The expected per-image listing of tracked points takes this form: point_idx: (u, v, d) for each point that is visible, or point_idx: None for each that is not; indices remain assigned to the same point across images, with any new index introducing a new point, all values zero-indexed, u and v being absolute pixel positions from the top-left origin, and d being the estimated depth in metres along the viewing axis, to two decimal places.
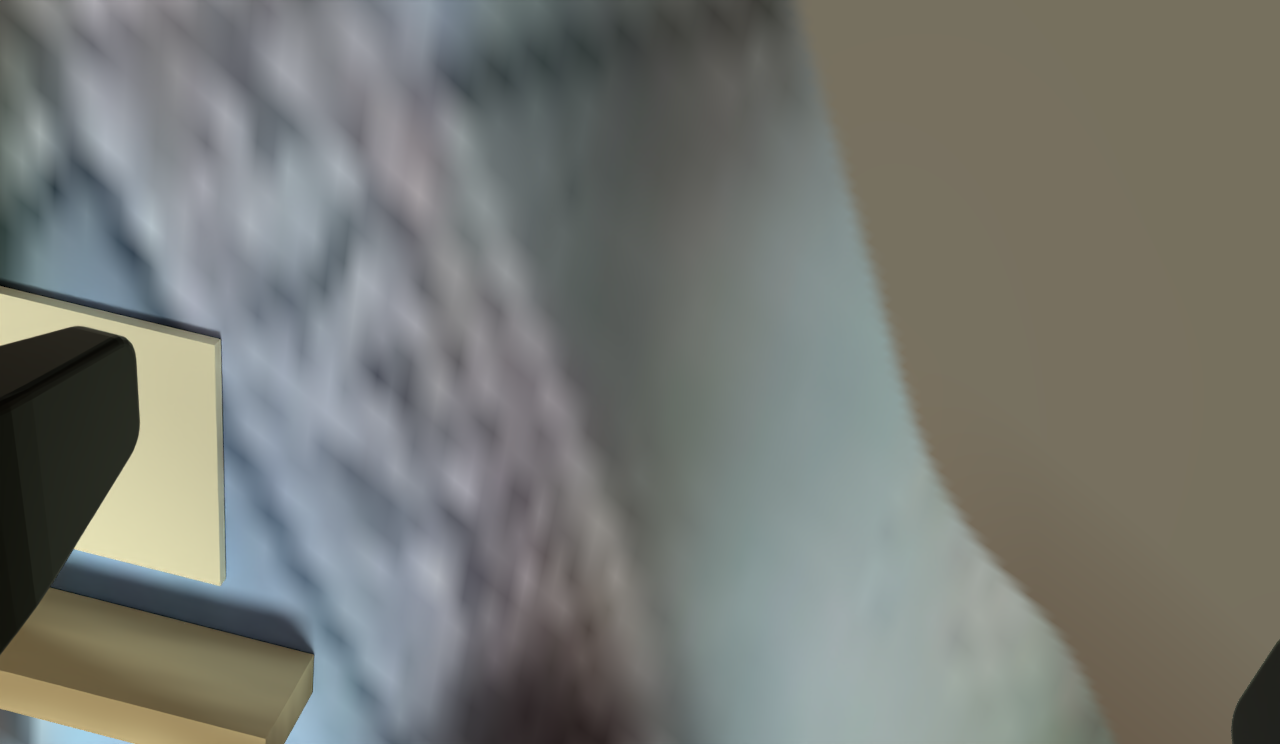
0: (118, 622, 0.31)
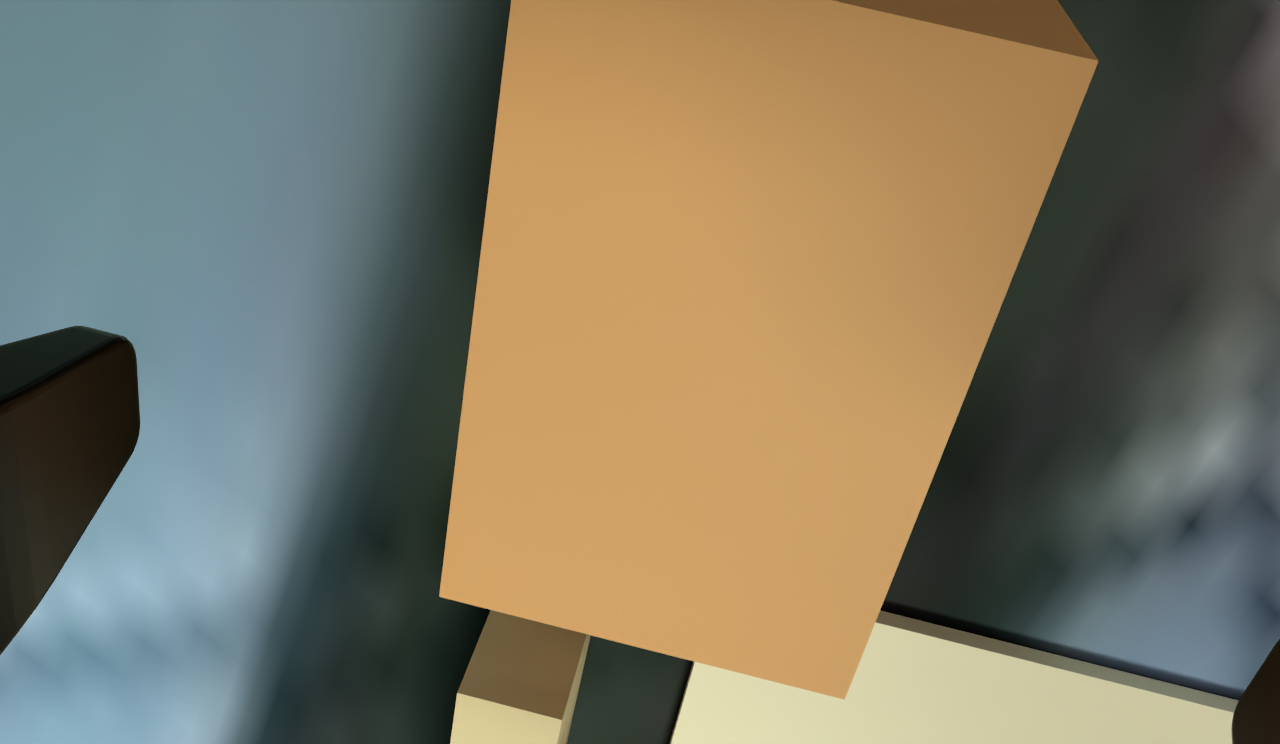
0: None
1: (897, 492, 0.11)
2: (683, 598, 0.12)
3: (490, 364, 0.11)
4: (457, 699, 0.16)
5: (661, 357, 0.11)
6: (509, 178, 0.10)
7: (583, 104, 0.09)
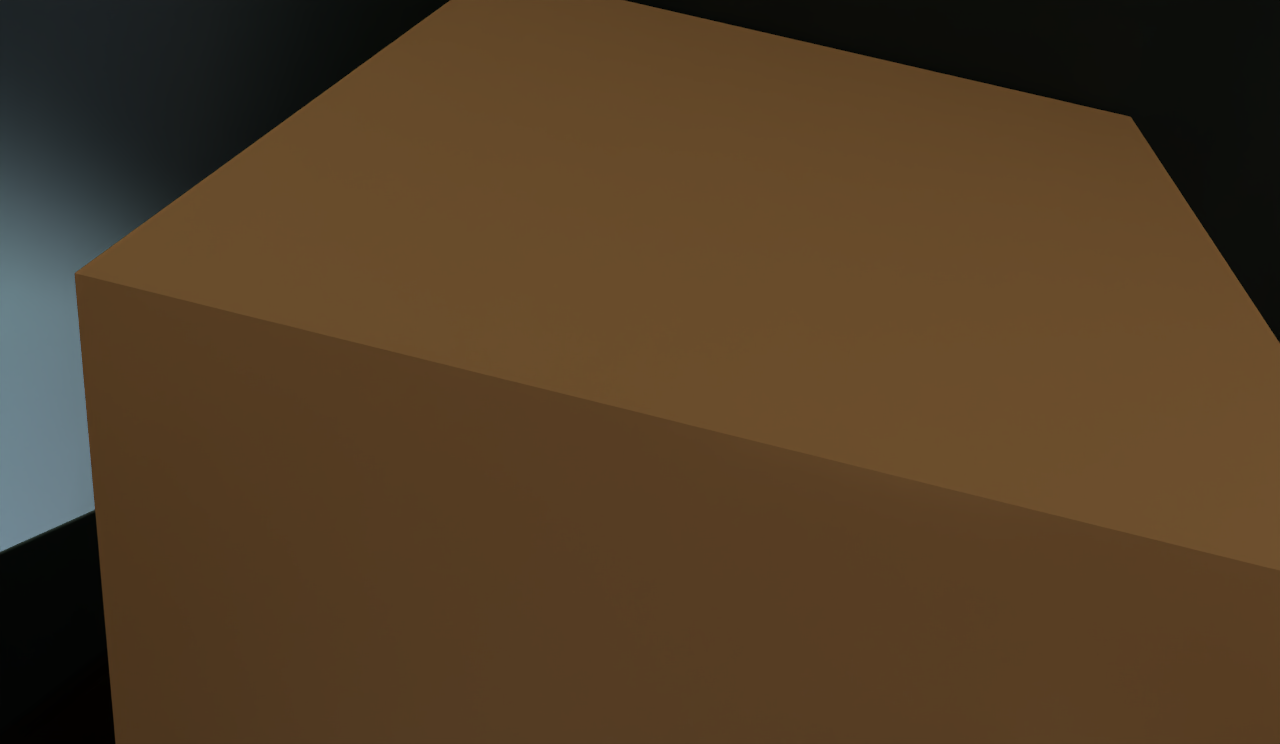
0: None
1: None
2: None
3: None
4: None
5: None
6: (154, 711, 0.05)
7: (276, 601, 0.04)
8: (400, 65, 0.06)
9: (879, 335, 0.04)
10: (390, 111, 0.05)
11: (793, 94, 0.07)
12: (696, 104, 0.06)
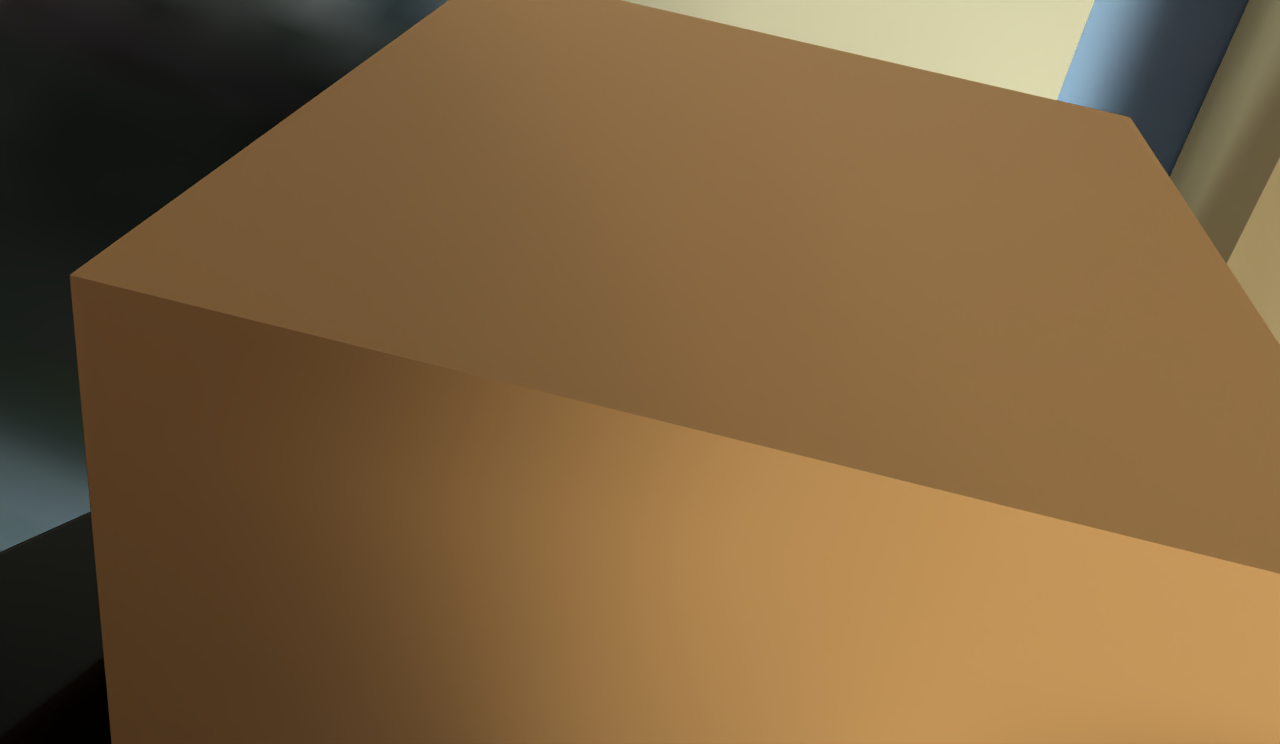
0: (1228, 84, 0.15)
1: None
2: None
3: None
4: None
5: None
6: (147, 715, 0.05)
7: (269, 604, 0.04)
8: (398, 66, 0.06)
9: (877, 335, 0.04)
10: (386, 114, 0.05)
11: (792, 95, 0.07)
12: (694, 103, 0.06)
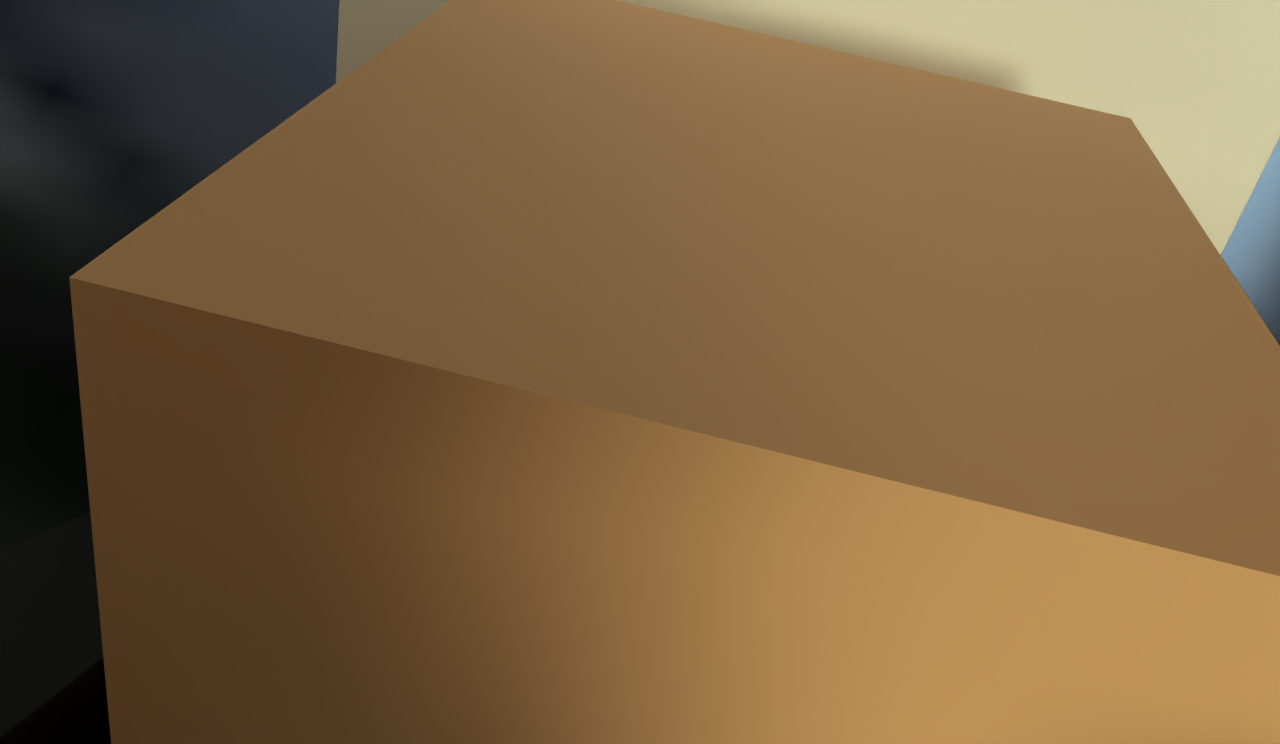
0: None
1: None
2: None
3: None
4: None
5: None
6: (149, 717, 0.05)
7: (269, 607, 0.04)
8: (398, 67, 0.06)
9: (877, 340, 0.04)
10: (384, 114, 0.05)
11: (792, 96, 0.07)
12: (694, 105, 0.06)
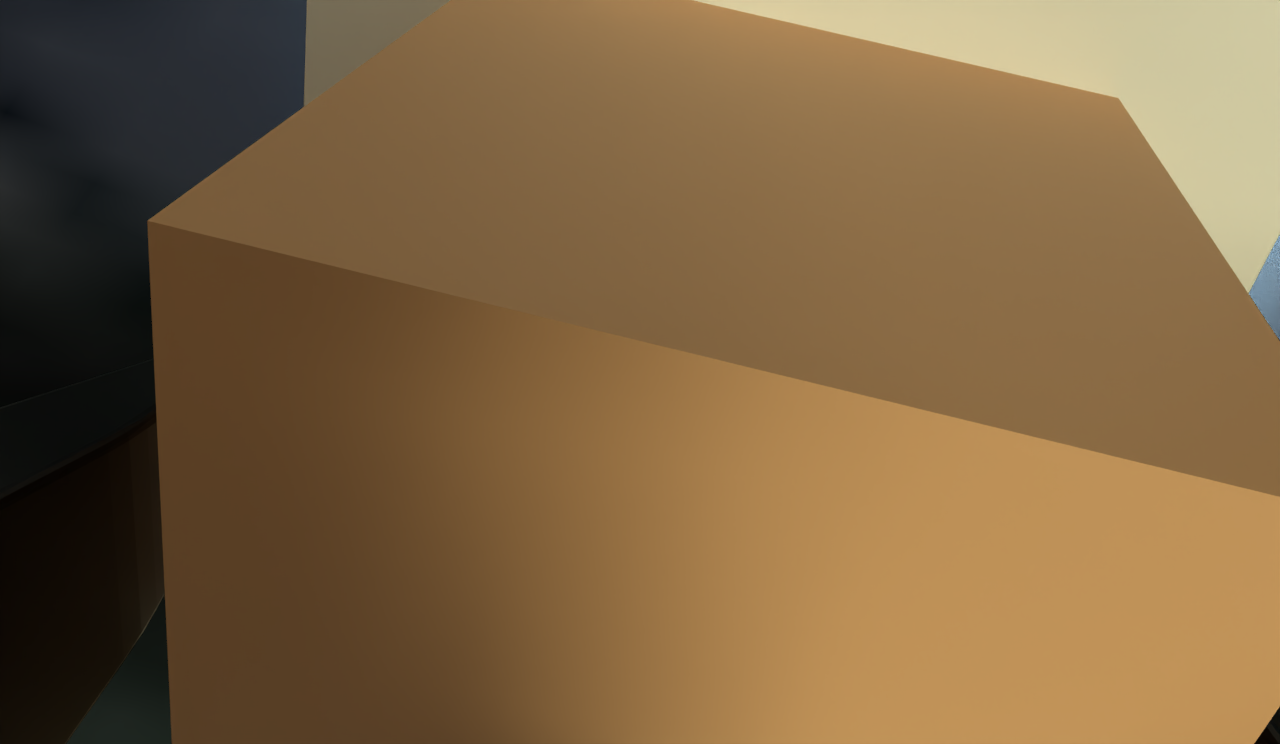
0: None
1: None
2: None
3: None
4: None
5: None
6: (203, 641, 0.05)
7: (319, 532, 0.05)
8: (427, 44, 0.06)
9: (880, 285, 0.05)
10: (419, 86, 0.06)
11: (797, 74, 0.07)
12: (704, 81, 0.07)
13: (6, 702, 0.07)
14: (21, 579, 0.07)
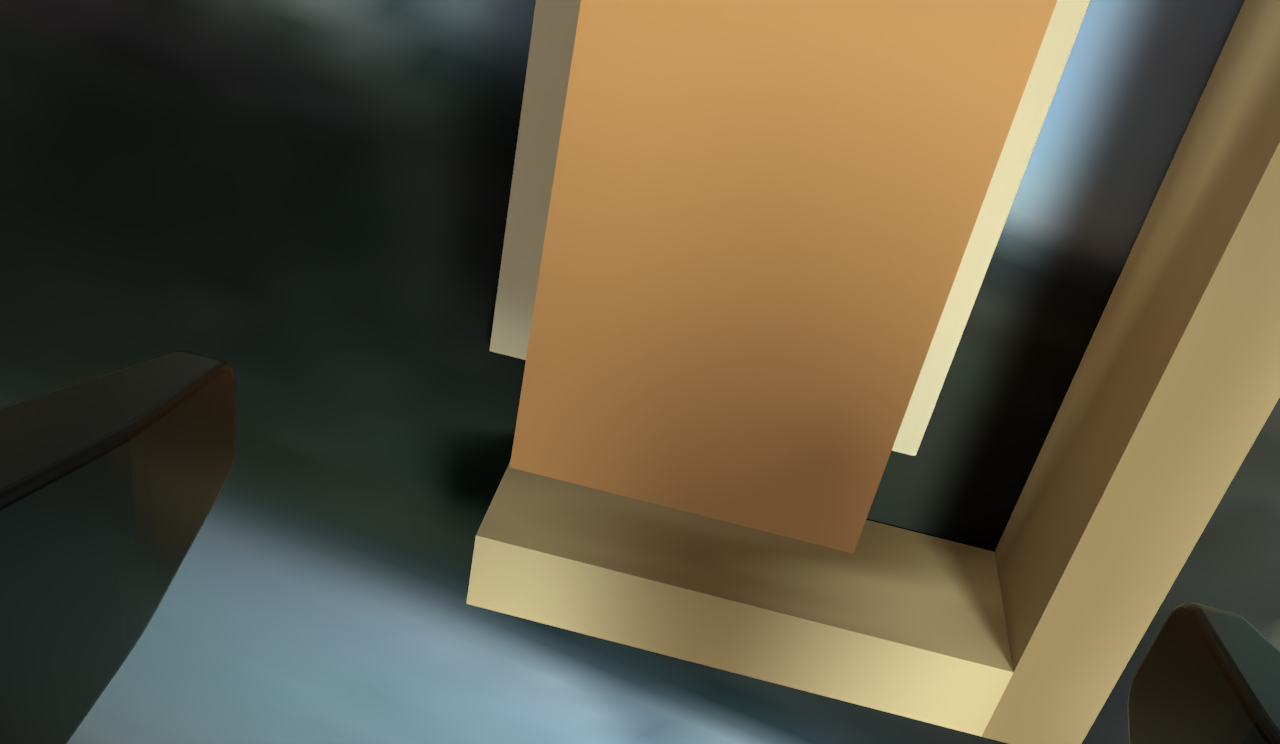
0: (1226, 78, 0.15)
1: (898, 366, 0.13)
2: (717, 464, 0.14)
3: (561, 258, 0.13)
4: None
5: (703, 251, 0.13)
6: (583, 99, 0.12)
7: (643, 35, 0.12)
8: None
9: None
10: None
11: None
12: None
13: (7, 702, 0.07)
14: (22, 579, 0.07)
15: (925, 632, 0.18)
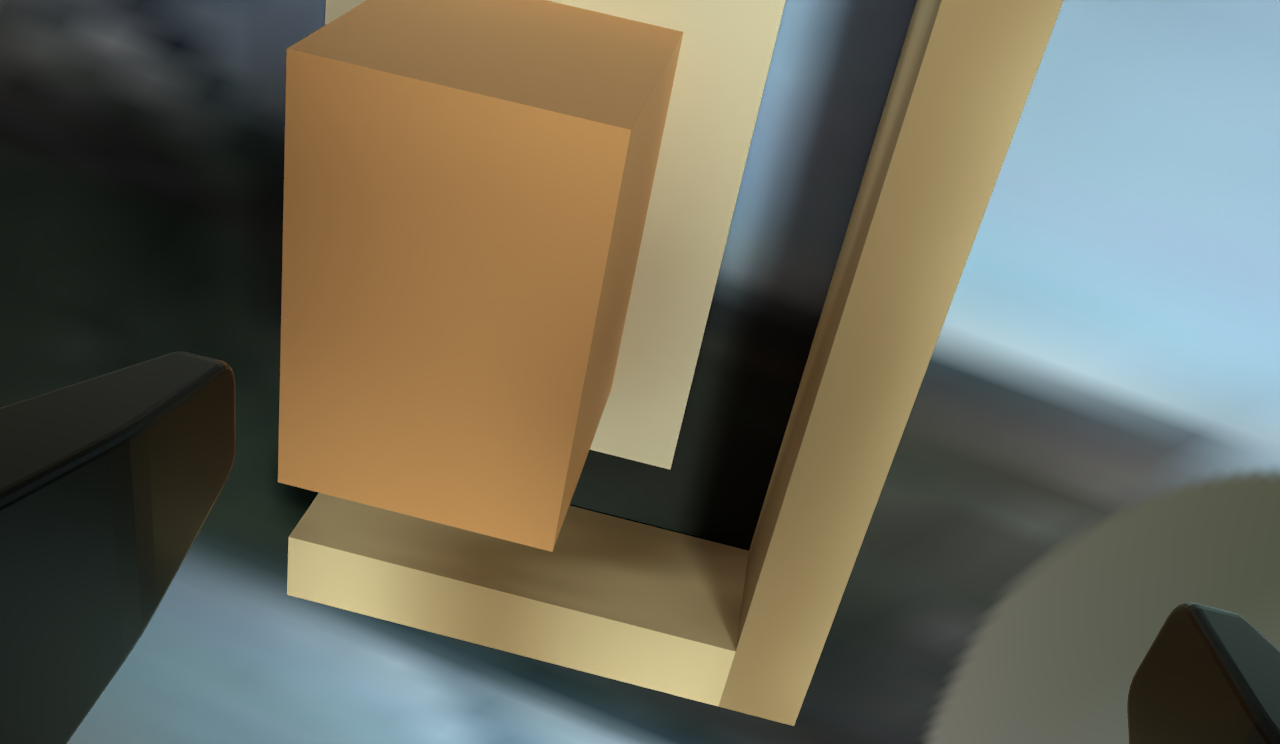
0: (870, 164, 0.19)
1: (562, 403, 0.17)
2: (438, 480, 0.18)
3: (295, 318, 0.17)
4: (291, 595, 0.23)
5: (402, 313, 0.16)
6: (296, 198, 0.16)
7: (335, 152, 0.15)
8: (374, 4, 0.17)
9: (510, 76, 0.15)
10: (370, 18, 0.16)
11: (528, 18, 0.18)
12: (484, 20, 0.17)
13: (8, 702, 0.07)
14: (22, 579, 0.07)
15: (666, 618, 0.22)
